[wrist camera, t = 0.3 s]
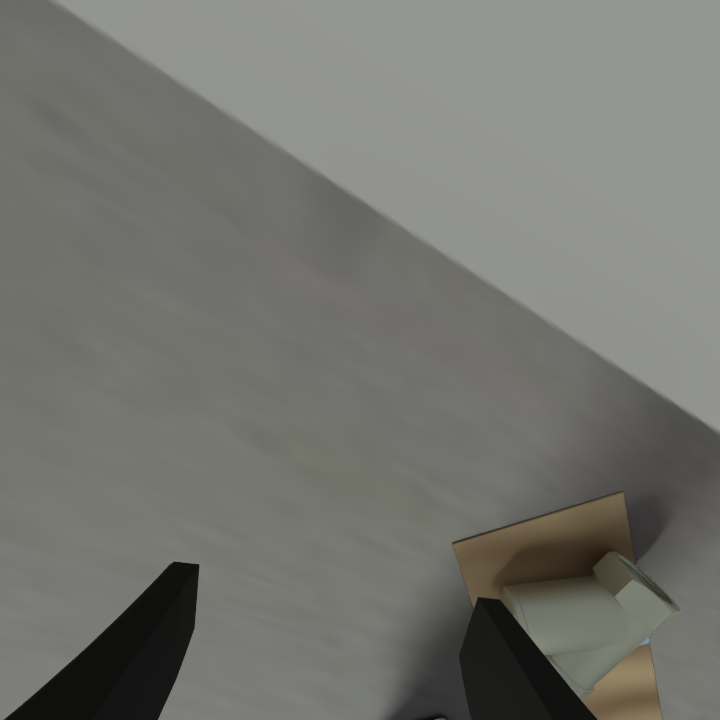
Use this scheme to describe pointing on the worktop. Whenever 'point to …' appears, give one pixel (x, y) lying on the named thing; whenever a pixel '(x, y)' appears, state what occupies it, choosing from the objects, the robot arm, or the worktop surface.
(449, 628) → the worktop surface
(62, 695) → the robot arm
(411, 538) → the worktop surface
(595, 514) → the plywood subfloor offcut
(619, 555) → the pipe fitting
